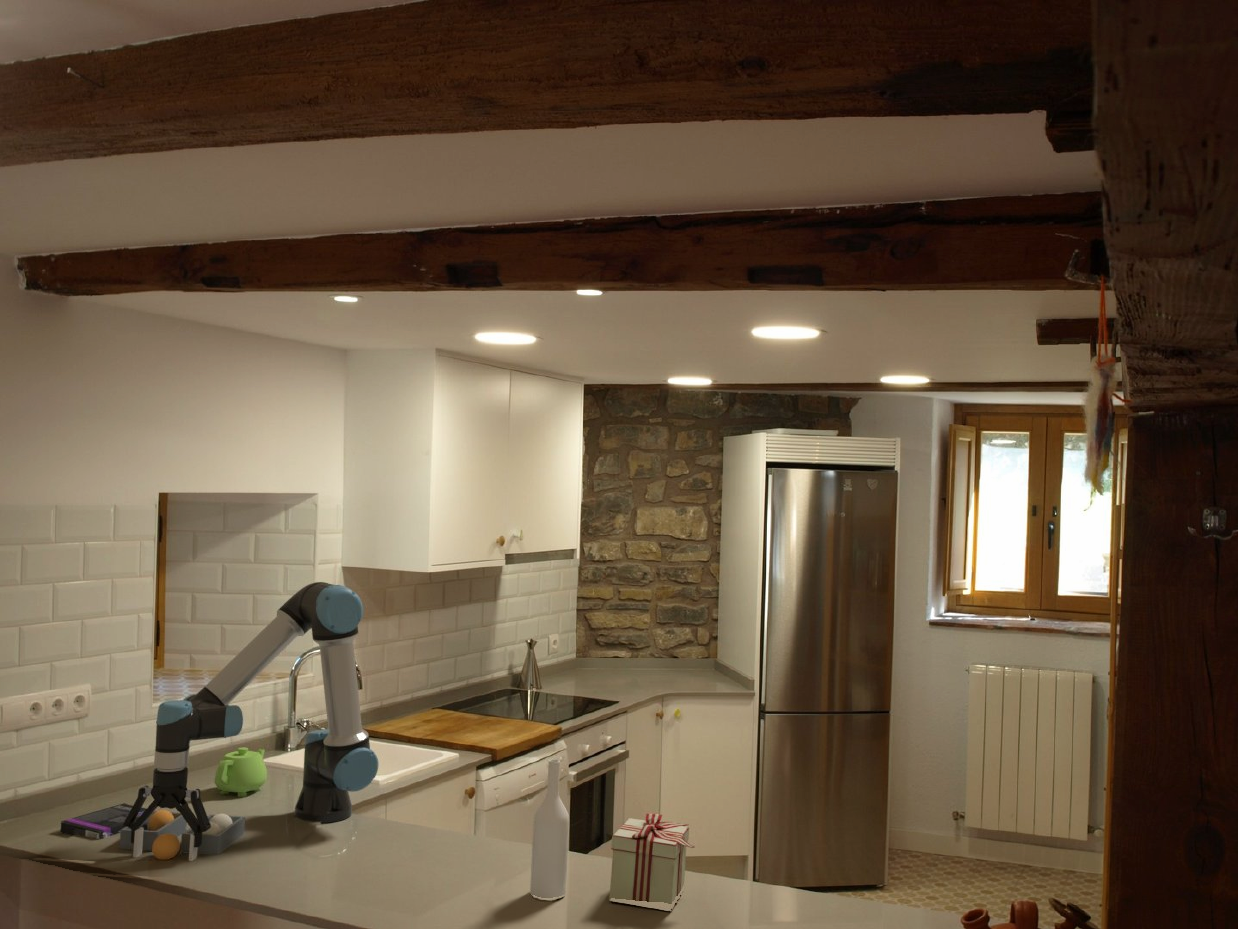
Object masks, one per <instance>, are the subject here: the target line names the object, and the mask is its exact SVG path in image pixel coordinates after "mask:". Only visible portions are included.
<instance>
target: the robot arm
mask: <svg viewBox="0 0 1238 929" xmlns="http://www.w3.org/2000/svg"><path fill="white" fill-rule="evenodd" d="M363 615H364V606H363V602H362V600H361V598H360V596H359V595H358V594H357V593H356V592H355V591H354V590H352V589H350V588H349V587H347V586H344V585H340V584H333V583H328V582H323V581H319V582H318V581H316V582H312V583H309V584H307V585H305V586H303V587H302V588H300V589H299V590H298V591H297V592H296V593H295V594H293V595H292V596H291V597H290V598H289V599H288V600H286V601H285V602H284V603H283V604H282V605H281V606H280V608H278V609H277V610H276V616H275V618H273V619H272V620H271V621H270V622H269V623H268V624H267V626H265V627H264V628H263V629H262V630H261V631H260V632H259V633H258V634H256V636H255V637H254V638H253V639H252V640H251V641H250V642H248V644H246V646H245V647H244V648H243V649H242V650H241V651H240V652H239V653H237V655H235V656H234V658H232V659H231V660H230V661H229V662H228V663H227V664H226V665H225V666H224V667H223V668H222V669H221V670H220V671H219V672H218V673H217V674H216V675H214V677H213V678H212V679H211V680H209V682H208V683H207V684H206V685H204V686H203V688H201V690H200V691H198V692H197V693H196V694H191V695H188V696H186V697H185V698H183V699H179V700H178V699H173V700H172V699H171V700H166V701H162V703H160V704H159V706H158V710H157V716H156V723H155V724H156V731H155V749H154V759H153V760H154V761H153V767H154V770H153V774H152V776H153V777H152V787H149V786H148V785H146V784H145V785H144V786H142V787H140V788H139V789H138V793H137V798H136V800H135V801H134V803H133V804H132V806H133V807H132V809H131V811H130V812H129V814H128V816H127V818H126V820H125V822H124V824H123V825H124V827H129V828H130V829H131V843H134V850H133V855H132V858H138V857H140V856H141V855H142V854H143V850H142V846H143V831H144V828H142V827H140V826H141V825H142V824H143V822H144V821H145V820H146V819H147V818H148V817H149V816H150V815H151V814H152V812H153V811H156V809H157V808H158V807H159V808H160V809H170V810H171V809H172V810H174V809H176V811H177V812H178V813H181V815H182V816H183V818H184V819H185V820H186V822H187V825H188V826H189V827H190V828H191V829H192V831H193V833H192V834H190V849H189V853H188V862H193V861H194V860H195V859H197V858H198V854H197V849H198V847H199V846H201V844H202V832H205V831H207V830H208V829H210V828H211V825H210V822H209V819H208V817H207V816H208V814H207V812H206V810H205V806H204V804H203V801H202V799H201V789H200V788H195V789H190V790H189V789H188V787H187V786H188V785H187V784H188V776H189V774H188V773H189V769H188V767H187V766H188V765H189V759H190V758H189V756H190V745H191V744H190V743H191V741H199V740H200V741H202V740H211V739H222V738H223V739H227V738H231V737H235V736H238V735H239V734H240V733H241V731H242V729H243V724H244V716H243V710H242V708H240V706H239V705H234V704H232V705H229V704H230V703H231V702H232V701H233V700H234V699H236V697H237V696H238V695H240V693H241V692H242V691H243V690H244V689H246V687H248V686H249V684H250V683H251V682H252V681H254V680H255V678H256V677H257V676H259V675H260V674H261V673H262V672H263V670H264V669H266V668H267V667H268V666H269V664H271V663H272V662H273V661H274V660H275V659H276V658H277V657H278V655H280V654H281V653H282V652H283V651H284V650H285V649H286V648H287V646H289V645H290V644H291V643H292V642H293V641H294V640H295V639H296V638H297V637H304V636H305V635H306V633H308V632H309V631H310V630H311V635H312V641H314V642H315V643H316V644H318V645H319V652H320V662H321V671H322V674H321V675H322V680H323V681H322V682H323V691H324V692H323V693H324V701H325V711H326V720H327V729H316V730H312V731H309V732H308V733H307V734H306V736H305V741H304V746H303V747H304V754H303V755H304V756H303V776H302V778H303V779H302V788H301V791H300V793H299V796H298V797H297V798H298V799H297V801H296V803H295V807H294V813H293V814H294V817H295V818H296V819H300V820H302V821H303V820H304V821H307V822H308V821H309V822H320V823H321V824H323V823H324V824H325V823H334V822H338V821H343V820H346V819H348V818H349V817H351V816H352V814H353V813H352V812H353V805H352V801H351V798H350V797H351V796H350V795H349V792H350V793H351V792H352V793H353V792H359V791H362V790H363V789H365V788H367V787H368V786H369V785H371V783H372V781H373V780H374V779H375V778H376V776H377V775H378V770H379V758H378V756H377V755H376V752H375V751H374V750H372V749H371V747H370V746H371V744H370V736H369V732H368V731H367V730H365V729H363V726H362V714H361V706H360V705H361V704H360V695H359V686H358V676H357V674H358V673H357V666H356V665H357V664H356V656H355V648H354V646H355V645H354V640H355V639H356V638H357V636H358V635H359V624H360V622H361V621H362V619H363ZM150 795H151V797H152V798H153V801H152V802H151V803H150V804H149V805H148V807H147V808H146V810H145V811H144V812H143V814H142V815H141V816H140V817H139V818H138V819H137V820H136V821H134V820H135V818H136V816H137V815H138V813H139V811H140V809H141V808H143V805H144V803H145V802H146V799H147V797H149V796H150ZM186 797H188V800H190V804H191V806H192V809H193V810H192V809H191V808H190V806H189V803H188V801H187V800H186ZM139 827H140V828H139ZM190 828H189V829H190Z"/></svg>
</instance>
